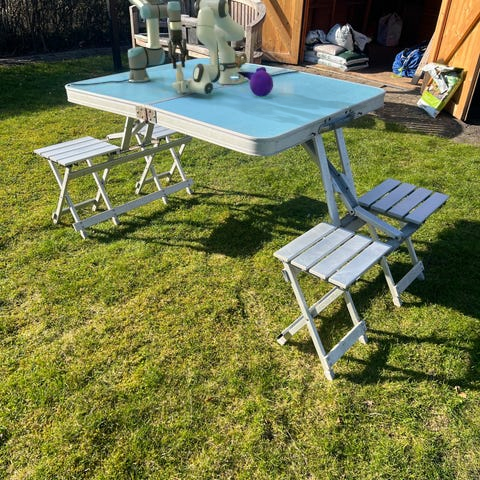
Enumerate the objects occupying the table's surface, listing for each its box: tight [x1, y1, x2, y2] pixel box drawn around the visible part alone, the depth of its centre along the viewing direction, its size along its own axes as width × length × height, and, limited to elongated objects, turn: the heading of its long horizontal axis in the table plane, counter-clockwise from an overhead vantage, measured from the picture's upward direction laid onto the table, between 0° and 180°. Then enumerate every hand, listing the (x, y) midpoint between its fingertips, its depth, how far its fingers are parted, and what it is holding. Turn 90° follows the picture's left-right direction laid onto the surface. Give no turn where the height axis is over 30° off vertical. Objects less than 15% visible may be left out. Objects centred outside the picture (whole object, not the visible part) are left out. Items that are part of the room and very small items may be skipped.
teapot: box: [235, 51, 248, 70], centre depth 367 cm, size 21×12×15 cm, turn 120°
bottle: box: [175, 68, 186, 95], centre depth 298 cm, size 5×5×18 cm
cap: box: [176, 63, 183, 70], centre depth 293 cm, size 4×4×2 cm
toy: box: [237, 66, 274, 97], centre depth 289 cm, size 16×18×27 cm
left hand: (179, 67), depth 294 cm, fingers open, 6 cm apart
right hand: (179, 82), depth 299 cm, fingers closed on bottle, 5 cm apart
